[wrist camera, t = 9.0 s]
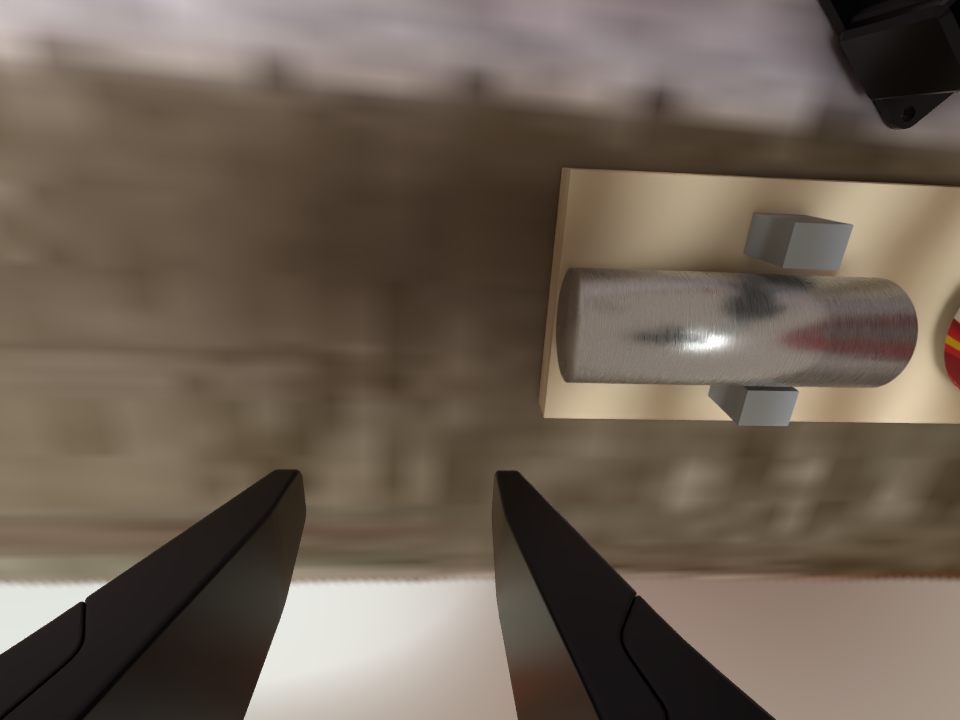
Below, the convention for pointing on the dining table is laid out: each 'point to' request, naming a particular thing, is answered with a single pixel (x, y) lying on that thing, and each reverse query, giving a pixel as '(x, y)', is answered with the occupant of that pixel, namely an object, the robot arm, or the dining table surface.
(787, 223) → the cradle
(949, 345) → the soda can
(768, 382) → the shaft
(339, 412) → the dining table surface
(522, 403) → the dining table surface
